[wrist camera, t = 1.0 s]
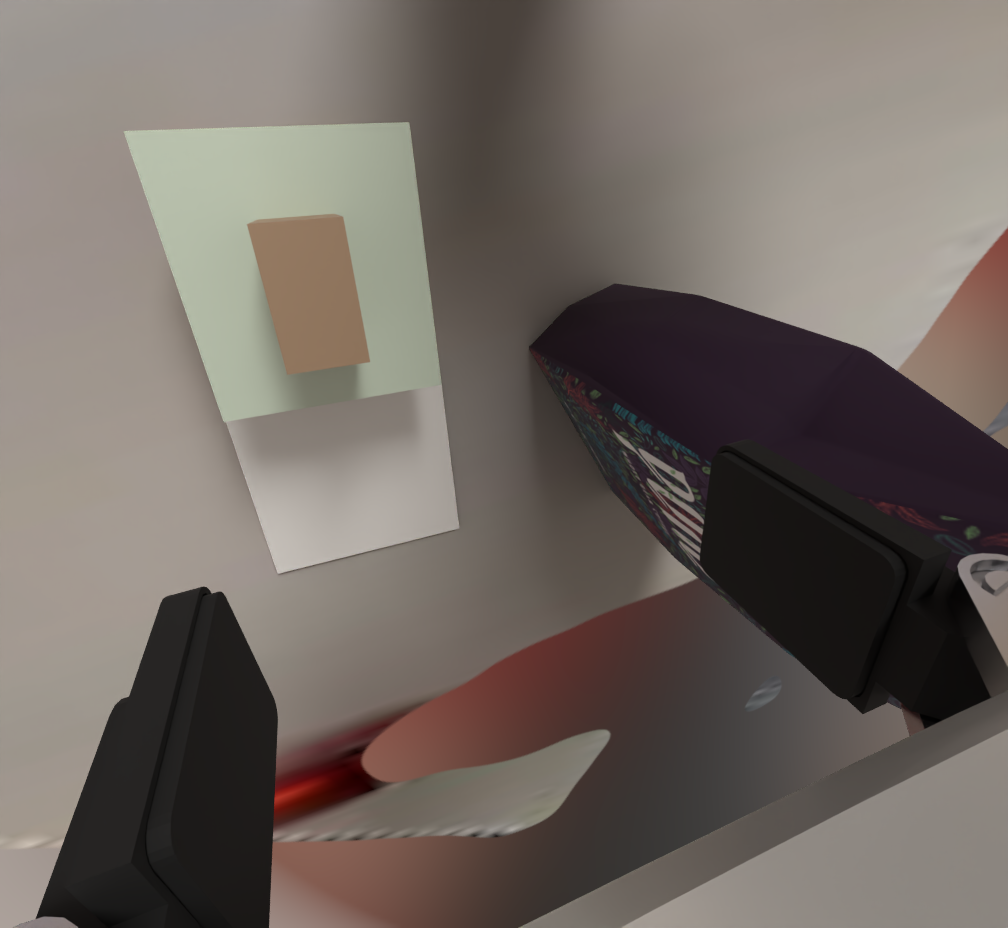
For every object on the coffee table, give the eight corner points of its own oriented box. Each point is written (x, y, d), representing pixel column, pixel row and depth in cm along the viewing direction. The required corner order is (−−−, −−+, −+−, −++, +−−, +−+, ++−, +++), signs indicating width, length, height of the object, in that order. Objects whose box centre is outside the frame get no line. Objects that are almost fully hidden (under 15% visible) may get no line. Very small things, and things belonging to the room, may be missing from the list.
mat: (218, 394, 30) (217, 396, 30) (437, 359, 33) (438, 361, 33) (277, 570, 36) (277, 573, 36) (457, 525, 40) (459, 528, 39)
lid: (140, 137, 20) (71, 110, 14) (400, 128, 23) (436, 102, 17) (229, 405, 25) (207, 470, 19) (432, 372, 28) (468, 419, 22)
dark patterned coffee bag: (610, 499, 44) (975, 848, 20) (517, 342, 35) (974, 637, 11) (687, 441, 44) (1140, 720, 20) (614, 270, 35) (1268, 412, 11)
